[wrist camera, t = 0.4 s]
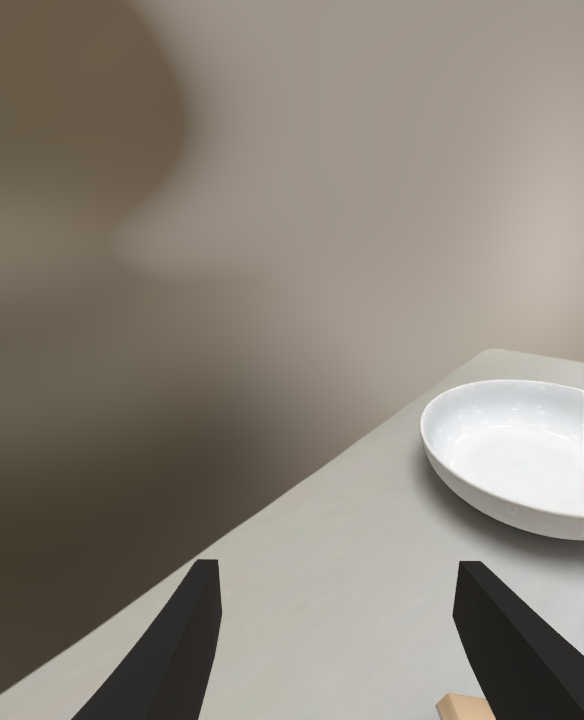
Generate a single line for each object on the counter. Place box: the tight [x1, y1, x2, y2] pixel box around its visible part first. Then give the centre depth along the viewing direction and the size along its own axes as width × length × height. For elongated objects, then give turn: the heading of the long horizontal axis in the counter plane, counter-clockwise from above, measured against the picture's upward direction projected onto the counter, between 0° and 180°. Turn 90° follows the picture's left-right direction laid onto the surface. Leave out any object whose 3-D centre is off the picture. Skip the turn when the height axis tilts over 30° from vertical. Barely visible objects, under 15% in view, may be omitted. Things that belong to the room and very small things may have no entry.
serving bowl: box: [419, 380, 584, 540], centre depth 34 cm, size 21×21×7 cm
